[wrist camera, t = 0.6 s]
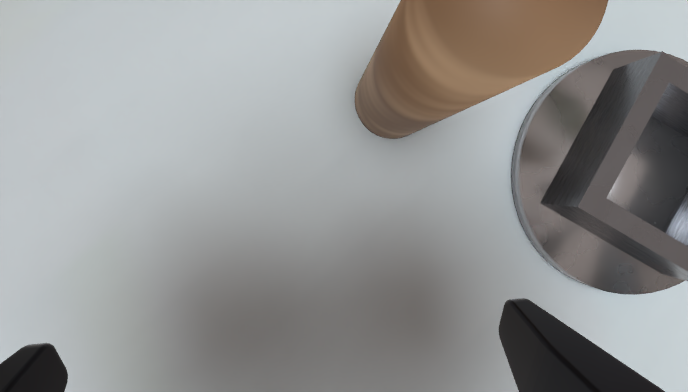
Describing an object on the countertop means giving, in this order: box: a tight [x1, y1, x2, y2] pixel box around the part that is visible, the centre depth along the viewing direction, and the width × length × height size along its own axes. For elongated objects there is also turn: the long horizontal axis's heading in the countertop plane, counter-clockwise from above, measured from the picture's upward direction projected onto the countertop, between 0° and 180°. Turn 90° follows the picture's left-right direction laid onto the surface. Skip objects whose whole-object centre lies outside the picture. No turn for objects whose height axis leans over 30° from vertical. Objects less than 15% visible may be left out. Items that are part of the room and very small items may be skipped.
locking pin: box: [355, 0, 608, 139], centre depth 15 cm, size 4×4×13 cm
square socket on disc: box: [511, 50, 688, 294], centre depth 21 cm, size 13×13×4 cm
